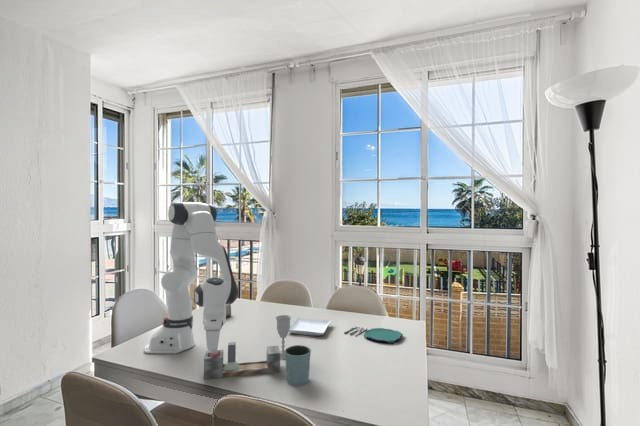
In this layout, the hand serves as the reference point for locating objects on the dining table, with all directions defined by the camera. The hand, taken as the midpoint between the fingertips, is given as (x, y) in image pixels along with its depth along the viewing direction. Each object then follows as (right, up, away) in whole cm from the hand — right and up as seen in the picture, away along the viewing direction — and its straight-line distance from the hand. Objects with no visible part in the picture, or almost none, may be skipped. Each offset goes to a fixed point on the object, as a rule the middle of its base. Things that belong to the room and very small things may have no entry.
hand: (214, 352), depth 140 cm
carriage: (+7, -7, +2) cm, 10 cm away
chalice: (+26, -9, +17) cm, 33 cm away
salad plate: (+37, -10, +54) cm, 66 cm away
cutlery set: (+73, -10, +47) cm, 87 cm away
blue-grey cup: (+34, -9, -4) cm, 36 cm away
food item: (-19, -8, +73) cm, 76 cm away
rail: (+11, -9, +3) cm, 14 cm away
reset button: (0, -4, 0) cm, 4 cm away
